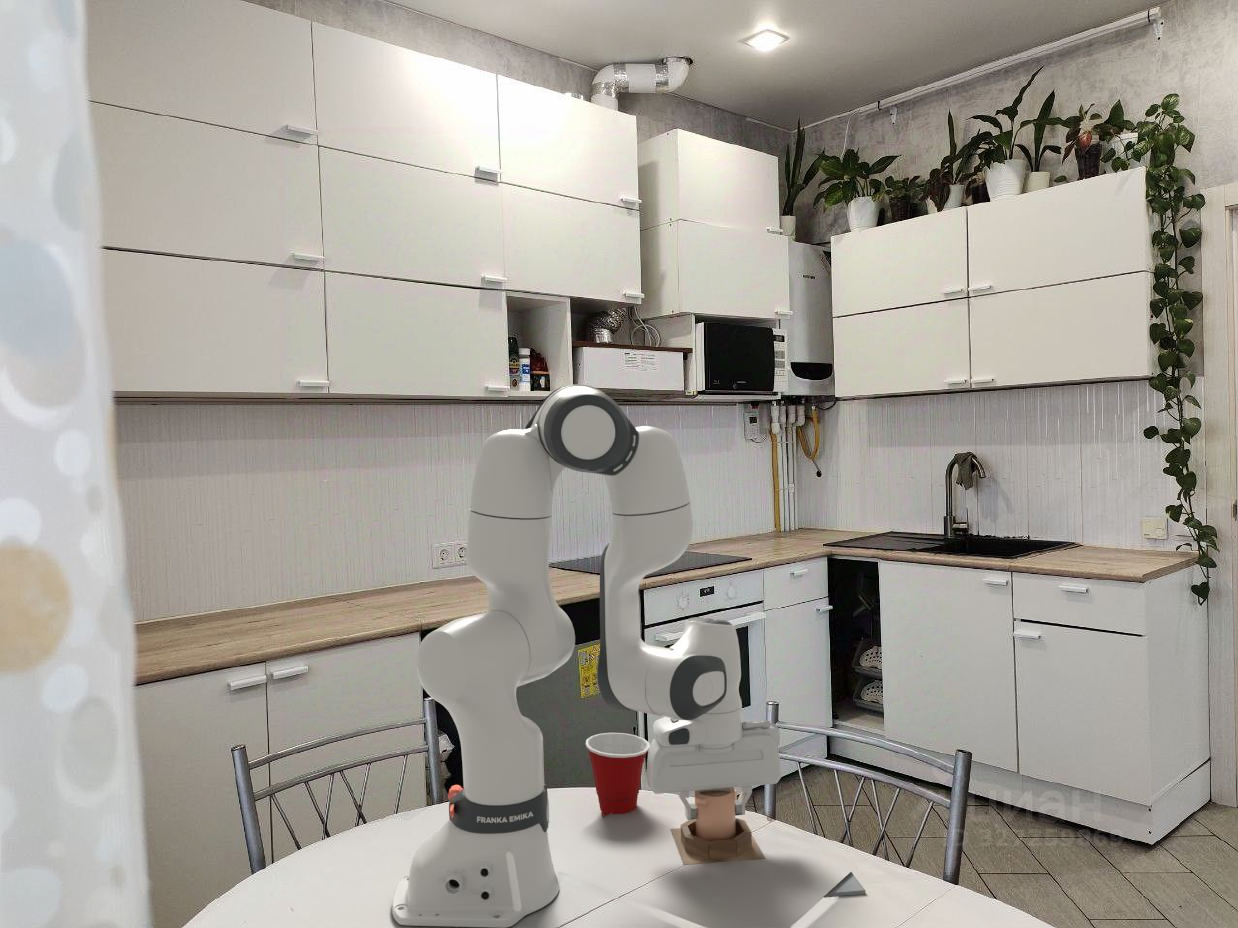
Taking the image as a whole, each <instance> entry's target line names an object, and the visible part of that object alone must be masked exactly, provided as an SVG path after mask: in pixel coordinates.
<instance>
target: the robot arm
mask: <svg viewBox="0 0 1238 928" xmlns="http://www.w3.org/2000/svg"><path fill="white" fill-rule="evenodd" d="M566 469H570V470H572V471H576V472H580V473H581V472H582V473H587V474H596V475H597V474H598V475H602V476H603V478H604V480H605V483H606V486H607V489H608V494H609V502H610V510H611V511H610V512H611V520H612V528H611V535H610V540H609V542H608V543H607V544H606V545H605V547H604V548H603V550H602V553H601V557H600V558H601V559H600V566H599V631H600V632H599V633H600V634H599V637H600V638H599V653H598V654H599V655H598V660H597V667H596V673H595V674H596V676H595V678H596V684H597V687H598V690H599V693H600V695H601V697H602V699H603V700H604V702H605V703H606V705H608V706H609V707H611V708H613V709H615V710H621V711H632V712H641V713H644V714H649V715H653V716H656V717H661V718H658V719H656V720H655V721H654V722H653V727H652V728H653V734H654V736H655V738H653V739H652V741H651V742H650V743H649V744H650V747H649V750H648V751H647V761H646V783H647V785H648V787H649V789H650V790H651V791H652V792H653V793H654V794H656V795H657V794H658V795H659V794H660V795H661V794H671V793H677V796H678V797H679V799H680V801H681V802H682V803H683V805H684V813H685V818H686V820H687V821H688V820H691V819H697V807H696V806H695V803H689V801H688V800H687V799H689V798H690V792H693V791H694V792H695V791H696V790H708V789H720V788H732V787H733V788H739V789H740V790H741V792H740V793H739V796H738V797H737V800H735V817H736V816H745V815H746V804H747V802H748V800H749V799H750V797H751V795H752V793H753V787H754V786H765V785H776V784H777V783H778V782H779V781H780V779H782V765H781V759H780V753H779V746H780V743H781V734H780V733H781V732H780V731H781V730H780V728H779V727H778V725H776V724H775V723H773V722H770V721H771V720H761V721H743V708H742V707H743V705H742V698H741V696H740V692H739V691H740V690H739V687H740V682H741V677H742V670H741V669H742V668H741V651H740V644H739V637H738V634H737V630H736V627H735V625H734V624H732V623H731V622H730V621H727V620H725V619H719V618H718V619H717V618H708V617H698V616H695V617H690V618H688V619H686V620H685V621H684V627H683V633H682V635H681V636H680V638H679V639H678V640H677V641H676V642H675V643H674V644H673V645H671V646H669V647H662V646H657V645H656V646H655V645H650V644H647V643H646V642H645V641H644V640H643V639H642V638H641V636H640V634H639V588H640V584H641V582H642V580H643V579H644V578H645V577H646V576H648V575H650V574H652V573H655V572H657V571H660V570H661V569H664V568H666V567H668V566H670V565H672V564H674V563H675V562H676V561H677V560H679V559H680V558H681V557H682V555H683V554H685V552H687V551H686V550H688V547H689V546H690V544H691V541H692V539H693V538H692V537H693V530H694V529H693V528H694V523H693V513H692V504H691V498H690V492H689V486H688V481H687V476H686V472H685V468H684V464H683V460H682V457H681V454H680V451H679V449H678V446H677V442H676V440H675V439H674V437H673V436H672V435H671V433H670V432H668V431H666V430H665V429H661V428H659V427H655V426H649V425H647V426H646V425H642V426H635V425H634V424H633V423H632V422H631V420H630V419H629V417H627V415H626V414H625V412H624V411H623V409H622V408H621V406H619V404H618V403H617V402H616V401H615V400H614V399H612V398H611V397H610V396H609V395H608V394H606V393H604V392H603V391H602V390H601V389H598V388H596V387H594V386H591V385H589V384H587V385H586V384H570V385H569V384H568V385H564V386H561V387H558V388H557V389H554V390H553V391H552V392H550V393H549V394H548V395H547V396H546V397H545V398H544V400H543V401H542V402H541V404H540V405H539V406H538V408H537V410H536V411H535V412H534V414H533V416H531V418H530V420H529V421H528V423H527V424H526V426H525V428H524V429H516V428H515V429H507V430H506V429H505V430H501V431H499V432H495V433H494V434H492V435H490V436H489V437H488V438H487V439H485V440H484V442H483V444H482V446H481V450H480V451H479V455H478V459H477V464H476V467H475V471H474V476H473V482H472V489H471V496H470V506H469V517H468V531H467V542H466V543H467V546H466V558H465V559H466V564H467V567H468V569H469V571H470V573H472V575H473V576H475V577H476V578H477V579H478V580H479V581H481V582H483V583H484V584H485V586H486V591H487V595H488V608H487V611H486V612H481V613H477V614H475V615H473V614H472V615H470V616H468V615H467V616H464V617H460V618H456V619H454V620H452V621H450V622H448V623H446V624H444V625H442V626H440V627H438V628H437V629H435V630H432V631H431V632H430V633H428V634H427V635H426V636H425V637H424V638H422V641H421V642H420V644H419V647H418V650H417V654H416V672H417V676H418V680H419V682H420V684H421V686H422V688H423V690H424V691H425V692H426V694H428V695H429V696H430V697H431V699H433V700H434V701H436V702H438V703H439V704H441V705H442V706H443V707H444V708H445V709H446V710H447V711H448V712H449V714H450V716H451V718H452V720H453V722H454V725H455V727H456V729H457V732H458V736H459V741H460V747H461V761H462V765H461V766H462V779H463V780H462V781H463V782H462V783H463V787H462V786H461V785H459V784H454V785H452V786H450V788H449V791H448V795H447V798H448V801H449V802H448V815H449V819H448V820H447V821H446V822H444V823H443V824H442V825H440V826H439V828H436V830H435V831H433V832H432V833H431V834H429V835H427V837H426V838H424V839H423V841H422V842H421V843H420V844H419V846H417V849H416V850H415V853H414V854H413V855H414V856H413V858H412V861H411V863H410V868H409V872H408V873H406V874H405V875H404V876H403V878H401V880H400V881H399V883H397V886H396V888H395V890H394V892H393V896H392V902H391V903H392V904H391V914H392V917H393V919H394V921H395V922H397V924H398V925H400V926H415V927H418V926H420V927H421V926H423V927H424V926H425V927H456V928H457V927H459V928H460V927H461V928H462V927H463V928H464V927H465V928H467V927H468V928H509V927H513V926H514V925H515V924H518V922H519V921H521V919H523V918H524V917H525V916H526V915H529V914H531V913H534V912H536V911H539V910H540V909H542V908H544V907H545V906H547V905H548V904H550V903H551V902H552V901H553V900H554V899H555V898H556V897H557V895H558V893H559V890H560V882H559V880H558V877H557V875H556V874H557V873H556V871H555V867H554V863H553V859H552V854H551V848H550V842H549V834H548V829H549V823H550V800H549V796H550V795H549V794H548V787H547V785H546V783H545V771H544V769H545V768H544V767H545V766H544V737H543V733H542V731H541V729H540V727H539V726H538V725H537V724H536V723H535V722H534V721H533V720H531V719H530V718H528V717H526V716H524V715H522V713H521V711H520V709H519V705H518V701H517V689H518V687H520V686H524V685H527V684H529V683H532V682H535V681H538V680H541V679H543V678H545V677H547V676H549V675H551V674H552V673H553V672H555V671H556V670H558V669H559V668H561V667H562V666H563V665H565V664H566V663H567V662H568V661H569V659H570V658H571V657H572V655H573V652H574V650H575V645H576V634H575V629H574V626H573V622H572V621H571V619H570V617H569V616H568V614H567V613H566V612H565V611H564V610H563V608H561V606H559V604H558V603H557V601H556V599H555V595H554V592H553V588H552V584H551V579H550V569H549V568H550V567H549V560H550V544H551V543H550V542H551V541H550V540H551V528H552V517H553V516H552V514H553V498H554V491H555V486H556V484H557V480H558V479H559V476H560V475H561V474H562V472H563V471H564V470H566Z"/></svg>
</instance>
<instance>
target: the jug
mask: <svg viewBox="0 0 1238 928" xmlns="http://www.w3.org/2000/svg"><path fill="white" fill-rule="evenodd" d="M735 800H738V790H737V789H735V787H732V788H720V789H708V790H696V791H694V804H695V806H696V807H697V819H695V822H696V837H699V838H702V839H705V840H709V841H717V840H730V839H734V838H735V837H736V822H735V818H736V816H735Z"/></svg>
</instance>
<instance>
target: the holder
mask: <svg viewBox="0 0 1238 928" xmlns="http://www.w3.org/2000/svg"><path fill="white" fill-rule="evenodd" d="M735 822H736V837H735V838H734V839H730V840H717V841H709V840H705V839H702V838H699V837H696V822H695V819H691V820H687V821H685V822H683V823H682V824H680V827H679V828H677V827H676V828H670V832H671V835H672V838H673V841H674V842H675V846H676V848H677V851H678V854H679V857H680V859H681V862H682V865H683V866H687V865H699V864H701V865H703V864H714V863H727V862H728V863H729V862H739V861H752V860H753V861H754V860H764V859H766V857H765V855H764V853H763V852H762V850H761V848H760V846H759V845H758V843H757V841H756V839H755V837H754V836H753V833H752V830H751V829H750V827H749V825H748V823H747V822H746V820H745V819H740V818H738V817H735Z"/></svg>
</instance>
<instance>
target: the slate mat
mask: <svg viewBox="0 0 1238 928" xmlns="http://www.w3.org/2000/svg"><path fill="white" fill-rule="evenodd" d="M855 895H856V896H857V895H866V889H865V888H864V887H863V885H862V884H861V883H860V881H859V880H858V878H857V877H856V876H855V875H854V873H853V872H852V871H850V872H849V873H848V874H847V875H846V876H844V878H842V879H841V880H840V881H839V882H838V883H837V884H836V885H835V886H833V887H832V888H831V889H830V890H829V891H828V892H827V893H826V894H825V895H824V896H823V898H831V897H842V896H843V897H844V896H845V897H846V896H855Z"/></svg>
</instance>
